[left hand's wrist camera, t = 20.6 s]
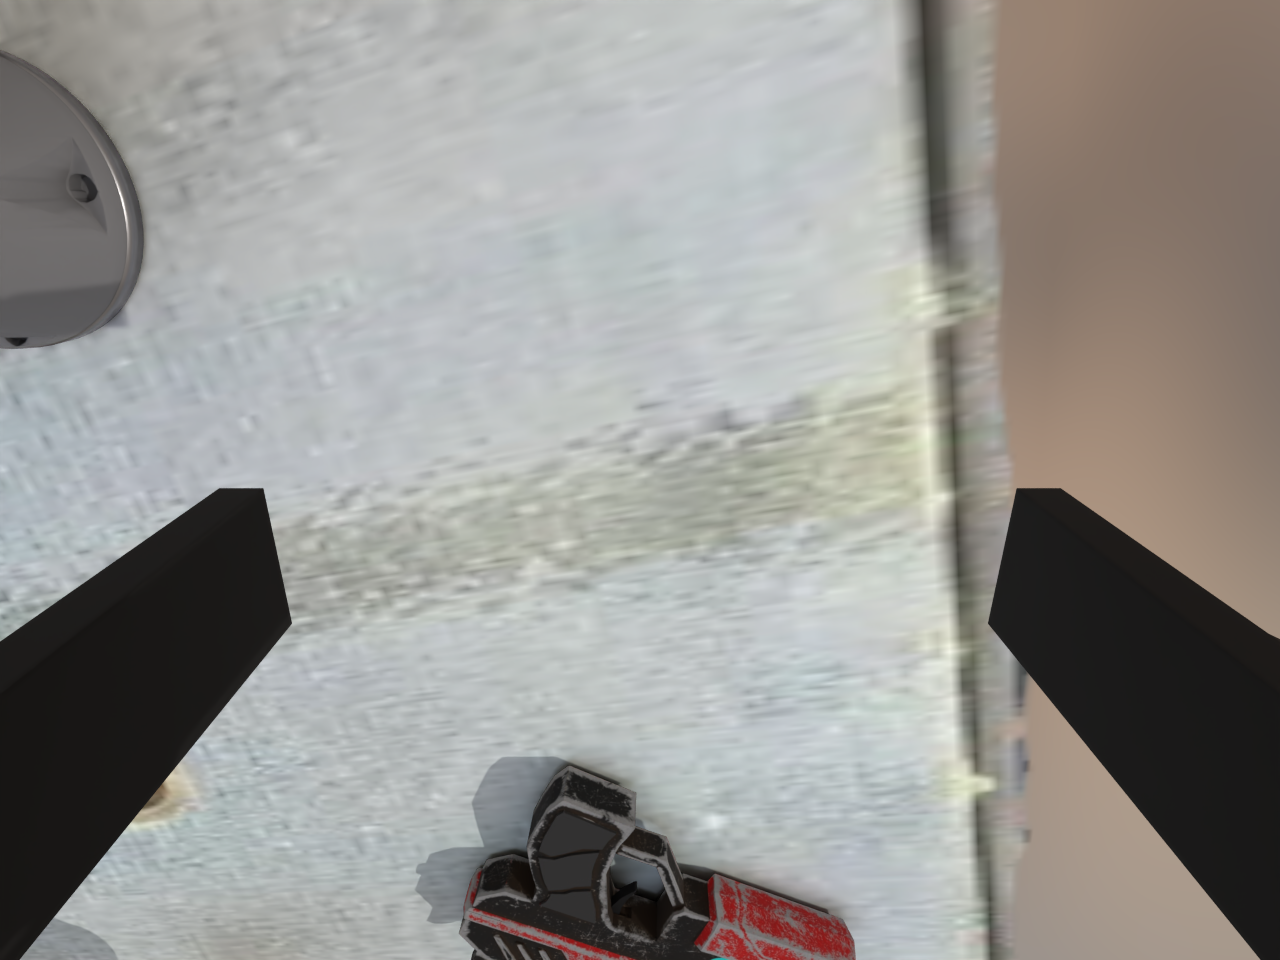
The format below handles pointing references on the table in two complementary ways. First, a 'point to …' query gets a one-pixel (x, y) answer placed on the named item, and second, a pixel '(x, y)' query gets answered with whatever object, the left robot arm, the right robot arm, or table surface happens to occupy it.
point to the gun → (626, 895)
